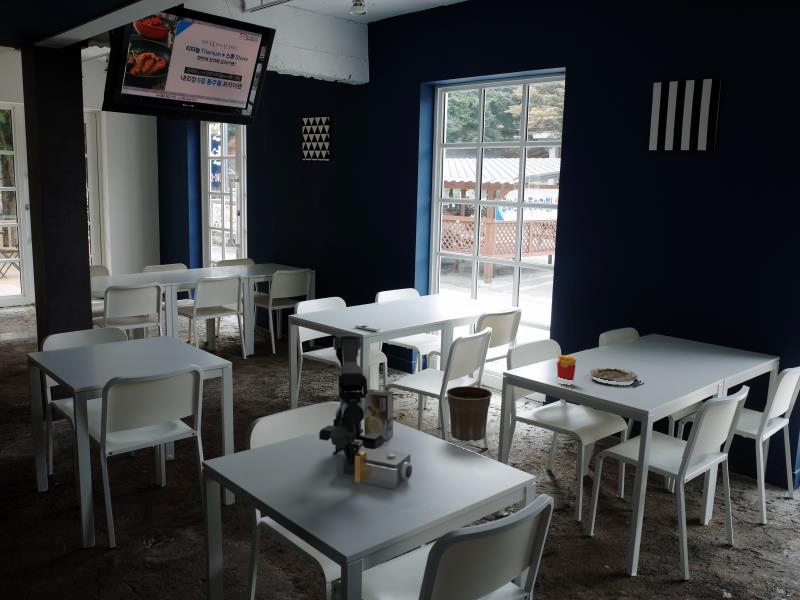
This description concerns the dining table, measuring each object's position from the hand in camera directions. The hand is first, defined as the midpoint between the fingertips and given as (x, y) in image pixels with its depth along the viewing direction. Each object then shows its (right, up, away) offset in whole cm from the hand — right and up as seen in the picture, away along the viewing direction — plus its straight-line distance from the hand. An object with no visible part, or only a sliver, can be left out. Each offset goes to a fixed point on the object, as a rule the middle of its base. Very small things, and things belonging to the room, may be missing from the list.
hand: (350, 465), depth 209 cm
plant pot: (+39, 0, +45) cm, 60 cm away
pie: (+114, +10, +127) cm, 171 cm away
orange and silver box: (+7, -6, -2) cm, 10 cm away
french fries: (+91, +10, +119) cm, 150 cm away
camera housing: (+7, -5, +7) cm, 11 cm away
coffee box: (+7, 0, +44) cm, 44 cm away
